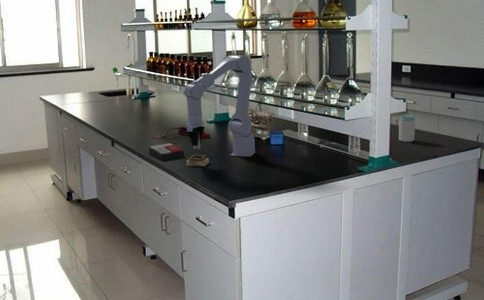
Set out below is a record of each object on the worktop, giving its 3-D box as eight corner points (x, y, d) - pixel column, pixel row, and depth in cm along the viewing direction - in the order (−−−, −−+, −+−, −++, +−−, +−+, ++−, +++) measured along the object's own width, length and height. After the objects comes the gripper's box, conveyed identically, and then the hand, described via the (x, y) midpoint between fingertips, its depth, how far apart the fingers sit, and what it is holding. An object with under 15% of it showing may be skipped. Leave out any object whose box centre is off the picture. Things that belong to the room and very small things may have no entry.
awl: (201, 147, 238) (200, 132, 237) (199, 149, 236) (198, 134, 234) (194, 147, 239) (193, 132, 238) (192, 149, 236) (191, 134, 235)
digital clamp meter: (184, 123, 306) (213, 129, 288) (185, 132, 307) (213, 138, 289) (148, 130, 291) (175, 137, 273) (148, 139, 293) (176, 146, 274)
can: (408, 143, 260) (409, 117, 257) (395, 141, 266) (396, 116, 263) (417, 140, 264) (418, 115, 262) (404, 138, 270) (405, 113, 267)
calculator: (161, 153, 246) (148, 145, 258) (161, 162, 247) (149, 154, 260) (184, 149, 251) (170, 141, 264) (184, 158, 253) (170, 150, 265)
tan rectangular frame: (208, 162, 240) (208, 155, 240) (204, 166, 235) (204, 158, 234) (191, 162, 243) (190, 154, 242) (186, 165, 237) (186, 158, 237)
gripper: (192, 109, 241) (193, 140, 245) (179, 116, 228) (181, 148, 231) (207, 110, 240) (209, 141, 243) (195, 116, 226) (197, 149, 229)
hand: (196, 144), depth 237 cm, fingers closed on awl, 3 cm apart
